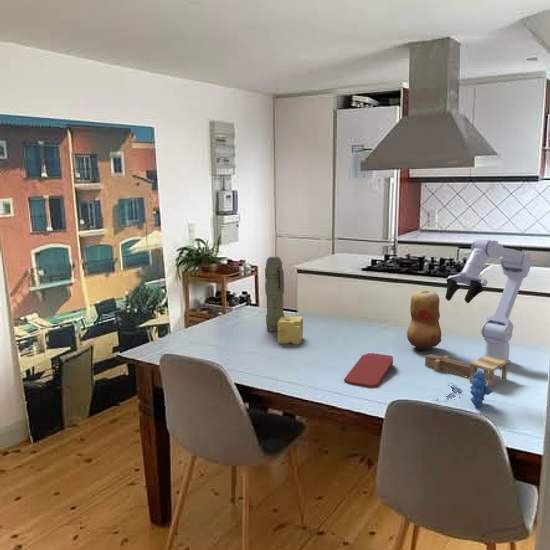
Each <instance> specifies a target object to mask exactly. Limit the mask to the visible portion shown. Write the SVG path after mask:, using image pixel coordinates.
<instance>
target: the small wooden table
mask: <svg viewBox="0 0 550 550" xmlns="http://www.w3.org/2000/svg"><path fill="white" fill-rule="evenodd" d="M507 363H508V360H506V359H501V358H497V357H492V356H488V355H483V356H482V357H480V358H478V359H475V360H474V361H472V362H470V363H469V364H470V366H471V369H470V378H469V383H470V382H471V381H472V380H474V379H475V378H474V377H473V374H474V373H475V368H477V369H480V370H483V373H484V372H485V373H489V382H488V384H487V385H488V386H490V388H491V389H493V388H494V385H493V382H494V375H495V371H497V370H499V369H501V380H503V379H504V380H505V381H506V380H507V375H508V374H507V373H508V364H509V363H508V364H507ZM501 366H502V367H501ZM500 367H501V368H500Z"/></svg>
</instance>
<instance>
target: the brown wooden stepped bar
mask: <svg viewBox="0 0 550 550" xmlns="http://www.w3.org/2000/svg"><path fill="white" fill-rule="evenodd" d="M424 357H425V360H424V362H425V363H424V366H425V367H427V366H428V368H431V367H432V369H433V371H434V370H435V371H434V372H437V371H438V372H439V370H440V371H442V370H445V371H444V372H446V371H448V373H450V372H452V373H451V374H454V373H456V374H455V375H457V374H459V376H461V375H463V377H465V376H467V377H466V378H469V377H470V369H471V366H470V363H468V362H464V361H460V360H456V359H452V358H450V357H449V356H448V355H444V356H439V355H435V354H431V353H430V354H427V355H426V356H424ZM476 372H478V368H475V373H476Z"/></svg>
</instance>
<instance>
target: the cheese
mask: <svg viewBox="0 0 550 550" xmlns="http://www.w3.org/2000/svg"><path fill="white" fill-rule="evenodd" d="M303 322H304V321H303V316H285V317H280V320H279V322H278V332H277V343H278V344H292V343H293V345H301V343H302V339H303V333H304V323H303Z"/></svg>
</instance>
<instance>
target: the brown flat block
mask: <svg viewBox="0 0 550 550" xmlns="http://www.w3.org/2000/svg"><path fill="white" fill-rule="evenodd" d="M483 373H484V375H485V377H484V379H485V381H486V382H485V383H488V382H489V372H488V373H485V372H484V371H483ZM501 379H502V375H497V374H494V382H493V386H494V385H496V384H497V383H499V382H501ZM498 381H499V382H498ZM495 383H496V384H495Z"/></svg>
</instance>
